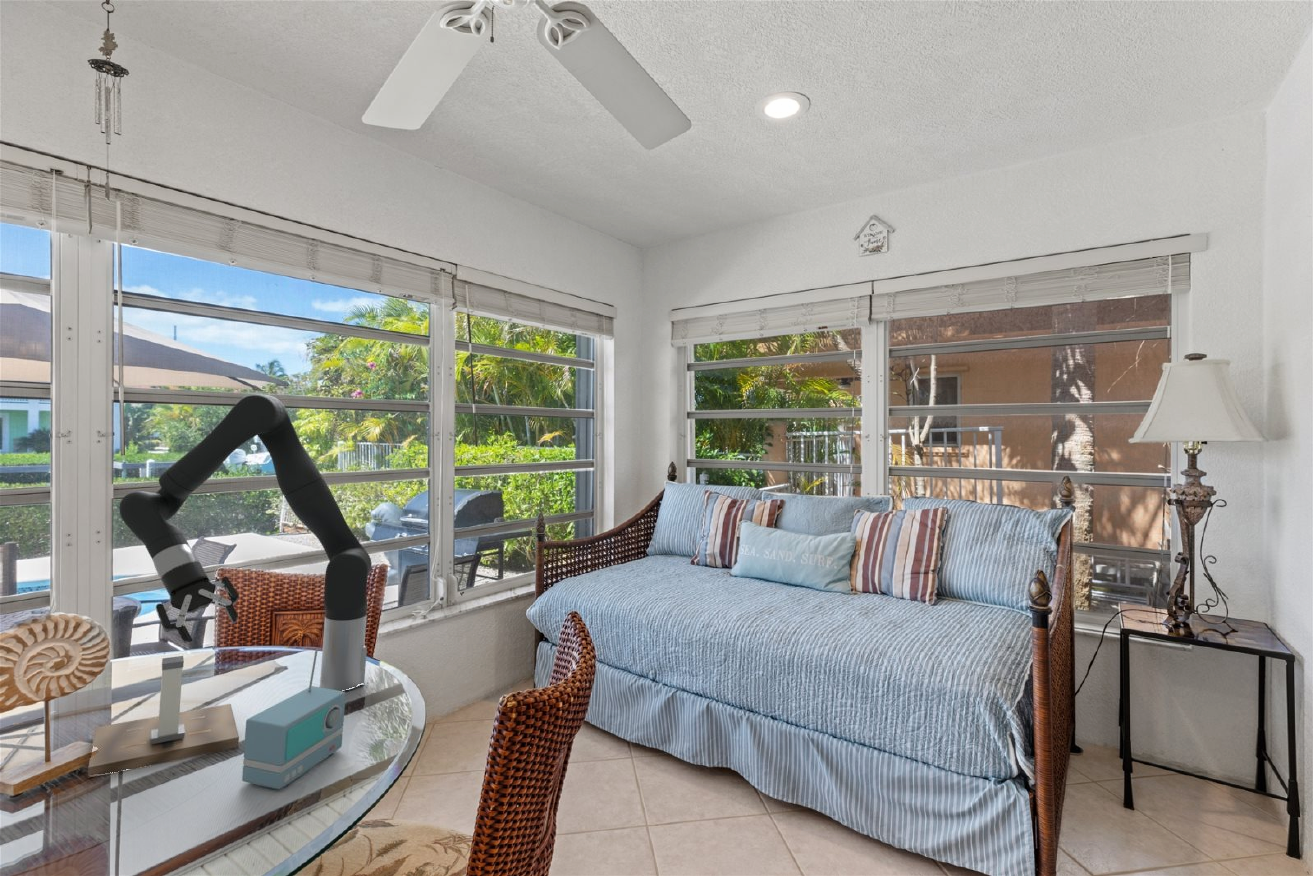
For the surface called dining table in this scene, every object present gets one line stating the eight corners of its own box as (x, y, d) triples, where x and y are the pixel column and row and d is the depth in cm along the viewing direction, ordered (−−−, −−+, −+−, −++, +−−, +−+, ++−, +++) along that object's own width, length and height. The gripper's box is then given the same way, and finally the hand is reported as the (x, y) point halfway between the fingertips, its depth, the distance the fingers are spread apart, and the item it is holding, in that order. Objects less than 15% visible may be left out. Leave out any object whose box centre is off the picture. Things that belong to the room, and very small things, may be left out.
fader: (183, 729, 124) (188, 654, 124) (184, 737, 121) (189, 661, 121) (151, 735, 121) (156, 658, 121) (151, 744, 118) (156, 665, 118)
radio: (284, 796, 110) (292, 681, 109) (240, 786, 111) (248, 673, 111) (347, 752, 125) (354, 651, 125) (307, 744, 127) (314, 645, 127)
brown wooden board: (230, 713, 137) (230, 703, 137) (238, 747, 124) (239, 736, 124) (94, 737, 123) (95, 727, 123) (87, 778, 110) (88, 767, 110)
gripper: (141, 578, 133) (175, 645, 131) (217, 549, 144) (250, 611, 141) (141, 590, 138) (174, 654, 136) (215, 561, 149) (247, 620, 146)
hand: (213, 632), depth 139 cm, fingers open, 8 cm apart
